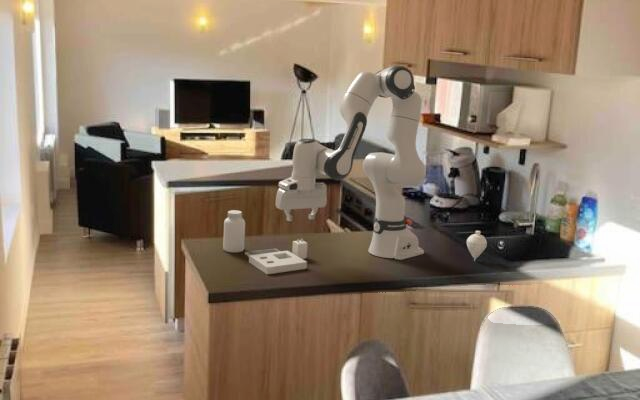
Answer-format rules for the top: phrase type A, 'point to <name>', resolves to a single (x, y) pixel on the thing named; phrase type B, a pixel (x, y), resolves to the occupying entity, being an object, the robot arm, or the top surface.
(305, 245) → the charger
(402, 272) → the top surface
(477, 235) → the spinning top
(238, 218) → the pill bottle
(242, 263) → the top surface
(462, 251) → the top surface
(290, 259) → the outlet plate
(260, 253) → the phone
